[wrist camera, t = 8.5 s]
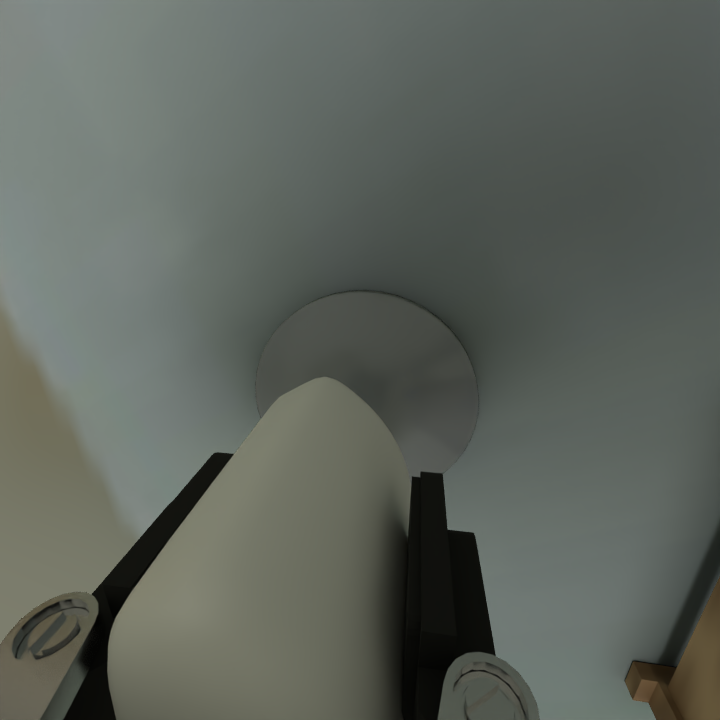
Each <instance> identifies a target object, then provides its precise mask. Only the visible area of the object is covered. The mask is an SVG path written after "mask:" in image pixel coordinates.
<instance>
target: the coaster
mask: <svg viewBox="0 0 720 720" xmlns="http://www.w3.org/2000/svg"><path fill="white" fill-rule="evenodd" d="M321 377H329V378H332V379H335V380H337V381H339V382H341V383H342V384H344V385H345V386H347V387H348V388H349V389H350V390H352V391H353V392H354V393H355V394H357V395H358V396H359V397H360V398H361V399H362V400H364V401H365V402H366V403H367V404H368V405H369V406H370V407H371V408H372V409H373V410H374V412H375V413H376V414H377V415H378V416H379V417H380V418H381V420H382V421H383V422H384V424H385V425H386V426H387V428H388V429H389V431H390V432H391V434H392V436H393V437H394V439H395V441H396V443H397V444H398V446H399V448H400V451H401V453H402V455H403V458H404V461H405V464H406V467H407V470H408V474H409V478H410V483H411V482H412V476H413V477H420V472H421V471H423V472H434V473H442V474H443V473H444V472H446V471H447V470H448V469H449V468H450V467H451V466H452V465H453V464H454V463H455V462H456V461H457V460H458V458H459V457H460V456H461V455H462V453H463V452H464V451H465V449H466V447H467V445H468V443H469V441H470V440H471V437H472V435H473V432H474V429H475V426H476V422H477V417H478V408H479V395H478V386H477V382H476V378H475V374H474V370H473V367H472V364H471V362H470V360H469V357H468V355H467V352H466V351H465V349H464V347H463V346H462V344H461V342H460V341H459V339H458V338H457V337H456V335H455V334H454V333H453V332H452V331H451V329H450V328H449V327H448V326H447V325H446V324H445V323H444V322H443V321H442V320H440V319H439V318H438V317H437V316H436V315H434V314H433V313H431V312H430V311H429V310H427V309H426V308H424V307H422V306H420V305H418V304H416V303H415V302H413V301H411V300H408V299H405V298H403V297H400V296H397V295H393V294H389V293H385V292H379V291H369V290H356V291H345V292H339V293H334V294H331V295H328V296H325V297H321V298H319V299H317V300H315V301H313V302H311V303H309V304H307V305H305V306H304V307H302V308H301V309H299V310H298V311H296V312H295V313H294V314H293V315H291V316H290V317H289V318H288V319H287V320H286V321H285V322H283V323H282V324H281V325H280V326H279V328H278V329H277V330H276V331H275V332H274V334H273V335H272V336H271V338H270V340H269V341H268V343H267V344H266V346H265V348H264V351H263V353H262V355H261V358H260V361H259V365H258V369H257V374H256V384H255V386H256V400H257V406H258V411H259V414H260V417H261V418H262V417H263V416H264V414H265V413H266V412H267V410H268V409H269V408H270V407H271V405H272V404H273V403H274V402H275V401H276V400H277V399H278V398H279V397H280V396H282V395H283V394H285V393H287V392H289V391H291V390H293V389H295V388H297V387H299V386H300V385H302V384H304V383H306V382H309V381H311V380H313V379H315V378H321Z"/></svg>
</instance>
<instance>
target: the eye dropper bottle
mask: <svg viewBox="0 0 720 720" xmlns="http://www.w3.org/2000/svg"><path fill="white" fill-rule="evenodd" d="M410 497H411V483H410V478H409V474H408V470H407V467H406V464H405V461H404V458H403V455H402V453H401V451H400V448H399V446H398V444H397V443H396V441H395V439H394V437H393V436H392V434H391V432H390V431H389V429H388V428H387V426H386V425H385V424H384V422H383V421H382V420H381V418H380V417H379V416H378V415H377V414H376V413H375V412H374V410H373V409H372V408H371V407H370V406H369V405H368V404H367V403H366V402H365V401H364V400H362V399H361V398H360V397H359V396H358V395H357V394H355V393H354V392H353V391H352V390H350V389H349V388H348V387H347V386H345V385H344V384H342V383H341V382H339V381H337V380H335V379H332V378H329V377H321V378H315V379H313V380H311V381H309V382H306V383H304V384H302V385H300V386H299V387H297V388H295V389H293V390H291V391H289V392H287V393H285V394H283V395H282V396H280V397H279V398H278V399H277V400H276V401H275V402H274V403H273V404H272V405H271V407H270V408H269V409H268V410H267V412H266V413H265V414H264V416H263V417H262V418H261V420H260V421H259V422H258V423H257V425H256V426H255V427H254V429H253V430H252V431H251V433H250V434H249V435H248V437H247V438H246V439H245V440H244V442H243V443H242V444H241V446H240V447H239V448H238V450H237V451H236V452H235V454H234V455H233V456H232V457H231V459H230V460H229V461H228V463H227V464H226V465H225V467H224V468H223V469H222V471H221V472H220V473H219V475H218V476H217V477H216V479H215V480H214V481H213V482H212V484H211V485H210V486H209V488H208V489H207V490H206V492H205V493H204V494H203V496H202V497H201V498H200V500H199V501H198V502H197V504H196V505H195V506H194V508H193V509H192V510H191V512H190V513H189V514H188V516H187V517H186V518H185V520H184V521H183V522H182V523H181V525H180V526H179V527H178V529H177V530H176V531H175V533H174V534H173V535H172V537H171V538H170V539H169V541H168V542H167V543H166V545H165V546H164V548H163V549H162V550H161V552H160V553H159V555H158V556H157V557H156V559H155V560H154V561H153V563H152V564H151V566H150V567H149V568H148V570H147V571H146V572H145V574H144V575H143V577H142V578H141V579H140V581H139V582H138V583H137V585H136V586H135V588H134V589H133V590H132V592H131V593H130V595H129V596H128V598H127V600H126V601H125V603H124V605H123V606H122V608H121V610H120V611H119V613H118V615H117V616H116V618H115V621H114V624H113V626H112V629H111V632H110V637H109V643H108V666H107V673H108V682H109V690H110V694H111V699H112V703H113V707H114V712H115V716H116V720H404V719H403V715H402V712H401V709H402V683H403V656H404V629H405V602H406V575H407V548H408V528H409V513H410Z"/></svg>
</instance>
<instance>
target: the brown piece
mask: <svg viewBox="0 0 720 720" xmlns="http://www.w3.org/2000/svg"><path fill="white" fill-rule="evenodd" d="M625 683H626V685H627V688H628V690H629V692H630V694H631V697H632V699H633V700H636V701H642V702H648V703H649V705H650V707H651V709H652V711H653V713H654V716H655V718H656V720H720V577H719V579H718V581H717V583H716V586H715V588H714V590H713V592H712V594H711V596H710V598H709V600H708V603H707V605H706V607H705V609H704V611H703V613H702V615H701V617H700V620H699V622H698V624H697V626H696V628H695V630H694V632H693V634H692V637H691V639H690V641H689V643H688V645H687V647H686V649H685V651H684V654H683V656H682V658H681V660H680V662H679V664H678V666H677V668H675V667H668V666H662V665H655V664H649V663H642V662H635V661H633V663H632V665H631V668H630V670H629V673H628V675H627V678H626V680H625Z"/></svg>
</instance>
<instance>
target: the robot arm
mask: <svg viewBox="0 0 720 720" xmlns="http://www.w3.org/2000/svg"><path fill="white" fill-rule="evenodd" d="M233 455H234V454H229V453H218V452H217V453H214V454H213V455H212V456H211V457H210V458H209V459H208V460H207V462H206V463H205V464H204V465H203V466H202V468H201V469H200V470H199V471H198V472H197V473H196V475H195V476H194V477H193V478H192V479H191V480H190V482H189V483H188V484H187V485H186V486H185V487H184V489H183V490H182V491H181V492H180V493H179V494H178V496H177V497H176V498H175V499H174V500H173V501H172V502H171V503H170V504H169V505H168V506H167V507H166V508H165V510H164V511H163V512H162V513H161V514H160V515H159V517H158V518H157V519H156V520H155V521H154V522H153V524H152V525H151V526H150V527H149V528H148V529H147V530H146V532H145V533H144V534H143V535H142V536H141V537H140V539H139V540H138V541H137V542H136V543H135V544H134V546H133V547H132V548H131V549H130V550H129V552H128V553H127V554H126V555H125V556H124V557H123V559H122V560H121V561H120V562H119V563H118V564H117V566H116V567H115V568H114V569H113V570H112V571H111V572H110V574H109V575H108V576H107V577H106V578H105V580H104V581H103V582H102V583H101V584H100V585H99V586H98V588H97V589H96V590H95V591H94V592H93V593H92V595H91V594H89V593H87V592H72V593H66V594H62V595H59V596H57V597H54V598H52V599H50V600H48V601H46V602H44V603H42V604H40V605H39V606H37V607H35V608H34V609H33V610H31V611H30V612H29V613H28V614H26V615H25V616H24V617H23V618H21V619H20V620H19V622H18V623H17V624H16V625H15V626H14V627H13V628H12V629H11V630H10V632H9V633H8V634H7V636H6V637H5V638H4V640H3V641H2V642H1V644H0V720H116V716H115V712H114V707H113V703H112V699H111V694H110V690H109V682H108V673H107V666H108V643H109V637H110V632H111V629H112V626H113V624H114V621H115V618H116V616H117V615H118V613H119V611H120V610H121V608H122V606H123V605H124V603H125V601H126V600H127V598H128V596H129V595H130V593H131V592H132V590H133V589H134V588H135V586H136V585H137V583H138V582H139V581H140V579H141V578H142V577H143V575H144V574H145V572H146V571H147V570H148V568H149V567H150V566H151V564H152V563H153V561H154V560H155V559H156V557H157V556H158V555H159V553H160V552H161V550H162V549H163V548H164V546H165V545H166V543H167V542H168V541H169V539H170V538H171V537H172V535H173V534H174V533H175V531H176V530H177V529H178V527H179V526H180V525H181V523H182V522H183V521H184V520H185V518H186V517H187V516H188V514H189V513H190V512H191V510H192V509H193V508H194V506H195V505H196V504H197V502H198V501H199V500H200V498H201V497H202V496H203V494H204V493H205V492H206V490H207V489H208V488H209V486H210V485H211V484H212V482H213V481H214V480H215V479H216V477H217V476H218V475H219V473H220V472H221V471H222V469H223V468H224V467H225V465H226V464H227V463H228V461H229V460H230V459H231V457H232V456H233ZM401 712H402V715H403V719H404V720H540V718H539V712H538V706H537V703H536V700H535V698H534V696H533V694H532V692H531V689H530V687H529V686H528V684H527V683H526V682H525V680H524V679H523V678H522V676H521V675H520V674H519V673H518V672H517V671H516V670H515V669H514V668H513V667H512V666H510V665H509V664H508V663H507V662H506V661H504V660H502V659H500V658H498V657H496V655H495V649H494V643H493V637H492V631H491V626H490V620H489V614H488V608H487V602H486V596H485V591H484V585H483V579H482V573H481V567H480V561H479V555H478V550H477V544H476V539H475V535H474V533H471V532H462V531H453V530H447V519H446V507H445V496H444V484H443V474H442V473H434V472H423V471H421V472H420V477H413V476H412V482H411V497H410V513H409V528H408V548H407V575H406V602H405V629H404V656H403V683H402V709H401Z"/></svg>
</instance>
